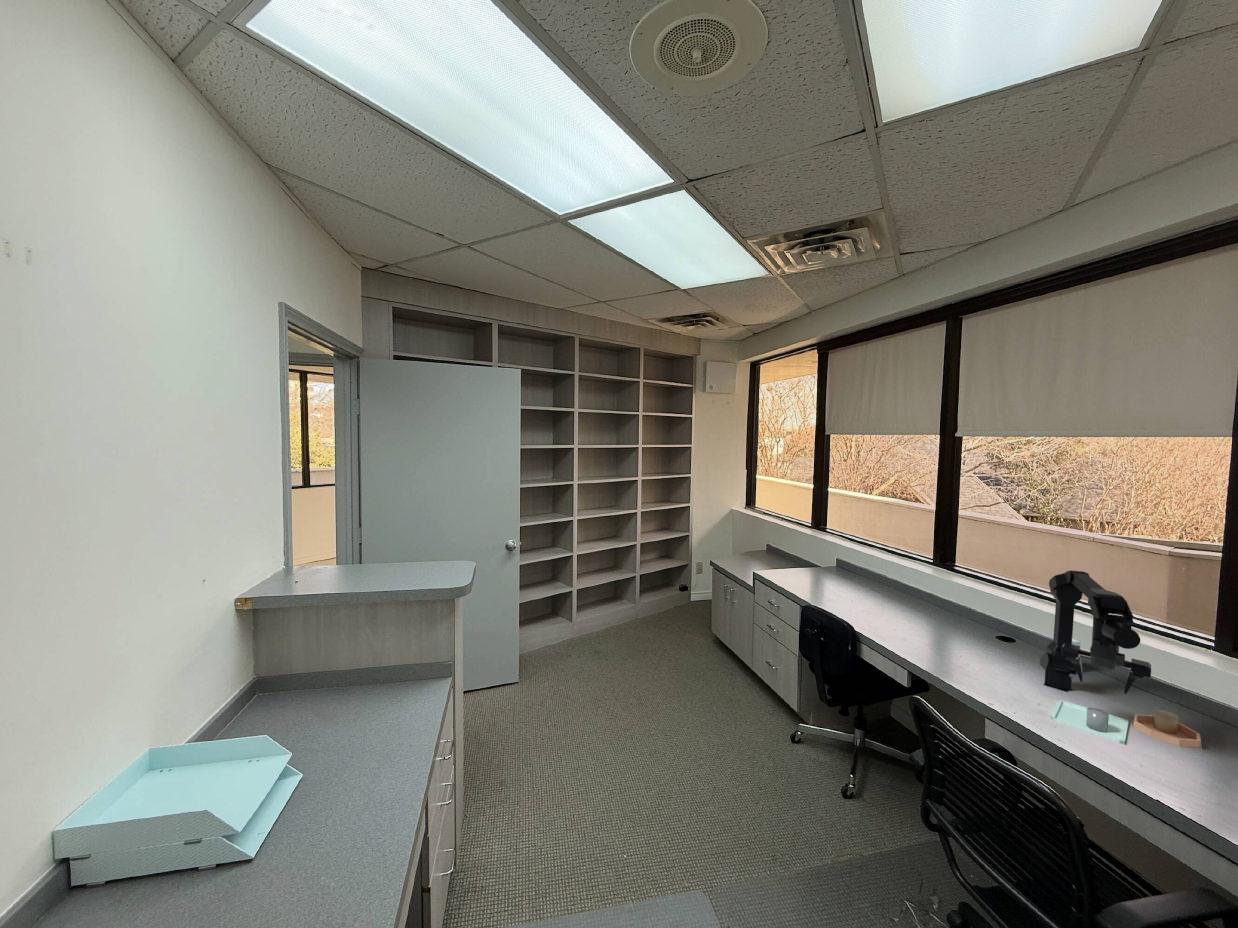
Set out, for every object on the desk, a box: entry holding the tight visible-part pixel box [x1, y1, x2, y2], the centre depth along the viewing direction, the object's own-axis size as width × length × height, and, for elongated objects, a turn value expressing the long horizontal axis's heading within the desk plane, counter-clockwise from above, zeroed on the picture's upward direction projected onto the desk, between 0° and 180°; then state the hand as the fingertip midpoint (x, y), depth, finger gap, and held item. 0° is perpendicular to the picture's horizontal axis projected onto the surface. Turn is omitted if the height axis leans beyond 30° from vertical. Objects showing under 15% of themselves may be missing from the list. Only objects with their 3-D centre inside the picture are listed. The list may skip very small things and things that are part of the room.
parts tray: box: [1049, 698, 1130, 745], centre depth 148 cm, size 16×17×1 cm
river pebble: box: [1154, 709, 1179, 735], centre depth 144 cm, size 5×5×5 cm
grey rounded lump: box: [1086, 707, 1109, 733], centre depth 144 cm, size 5×5×5 cm
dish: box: [1132, 713, 1201, 748], centre depth 142 cm, size 13×13×2 cm
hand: (1102, 687), depth 144 cm, fingers open, 9 cm apart
